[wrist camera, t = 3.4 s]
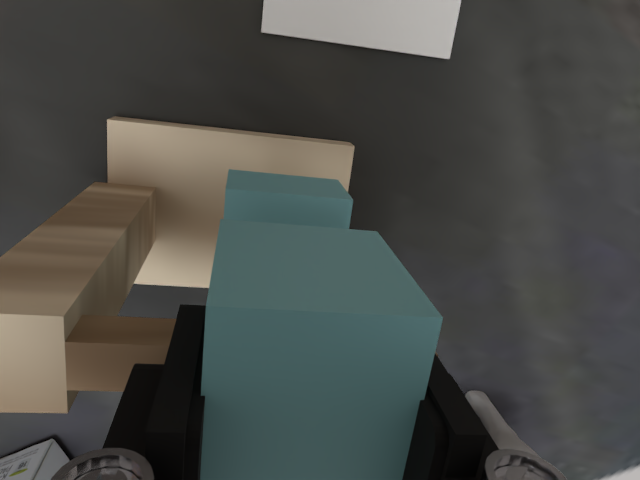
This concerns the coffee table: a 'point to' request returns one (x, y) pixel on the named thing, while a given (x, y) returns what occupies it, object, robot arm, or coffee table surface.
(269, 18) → the felt mat
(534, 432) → the coffee table surface
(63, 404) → the stand
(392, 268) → the c link
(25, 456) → the tea box
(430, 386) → the robot arm
